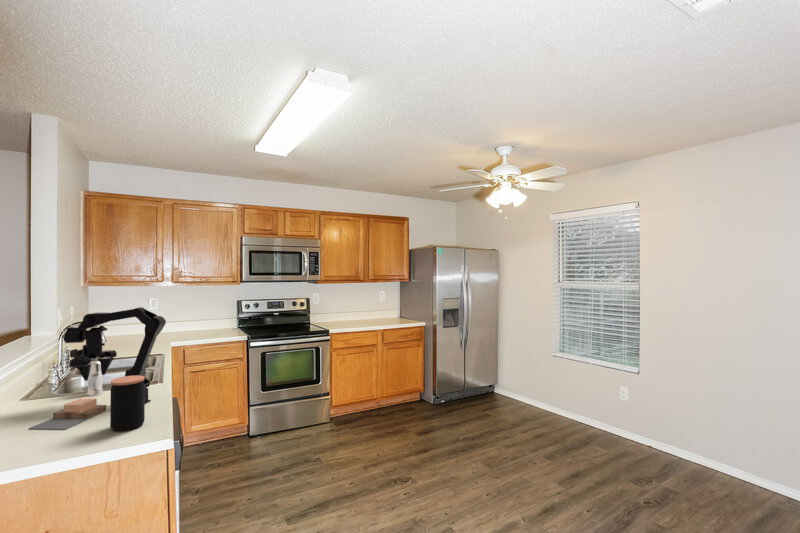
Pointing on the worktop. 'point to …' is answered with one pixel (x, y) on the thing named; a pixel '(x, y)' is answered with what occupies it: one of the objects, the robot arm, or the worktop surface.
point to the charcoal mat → (57, 424)
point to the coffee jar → (127, 403)
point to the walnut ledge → (83, 415)
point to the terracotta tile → (80, 405)
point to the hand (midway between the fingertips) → (94, 377)
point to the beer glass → (95, 379)
